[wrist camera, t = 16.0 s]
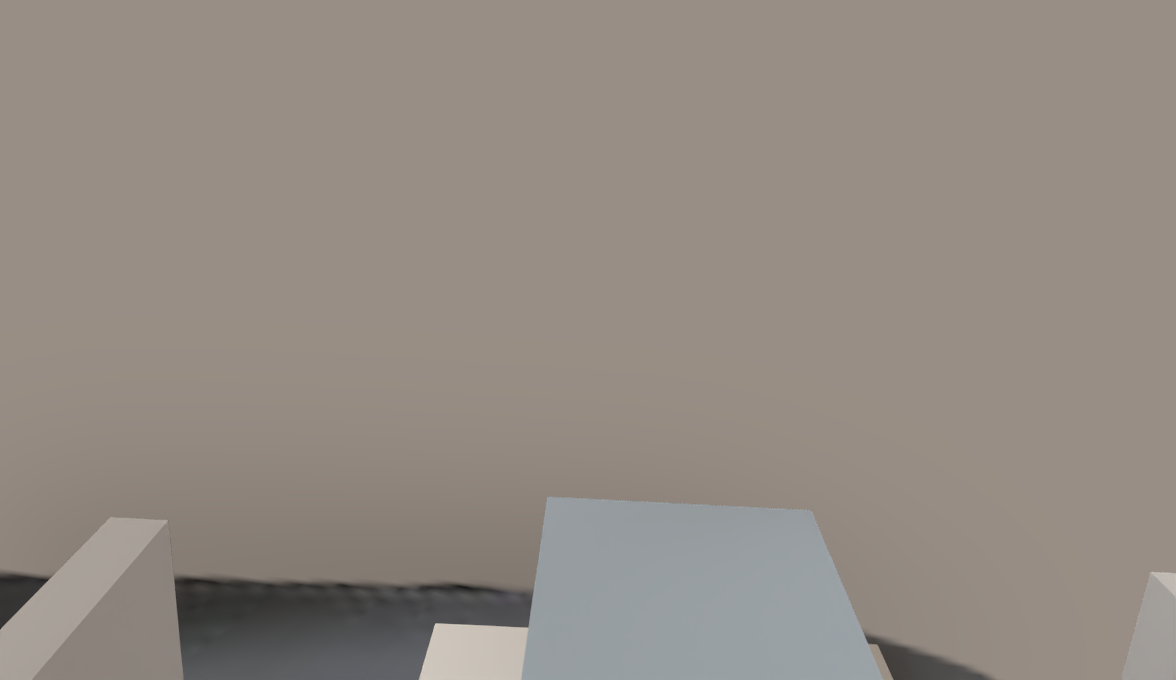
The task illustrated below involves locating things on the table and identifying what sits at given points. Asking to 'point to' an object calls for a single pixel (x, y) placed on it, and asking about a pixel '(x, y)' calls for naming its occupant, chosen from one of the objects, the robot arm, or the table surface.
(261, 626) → the table surface
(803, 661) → the grey-blue block
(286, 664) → the table surface
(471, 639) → the socket
